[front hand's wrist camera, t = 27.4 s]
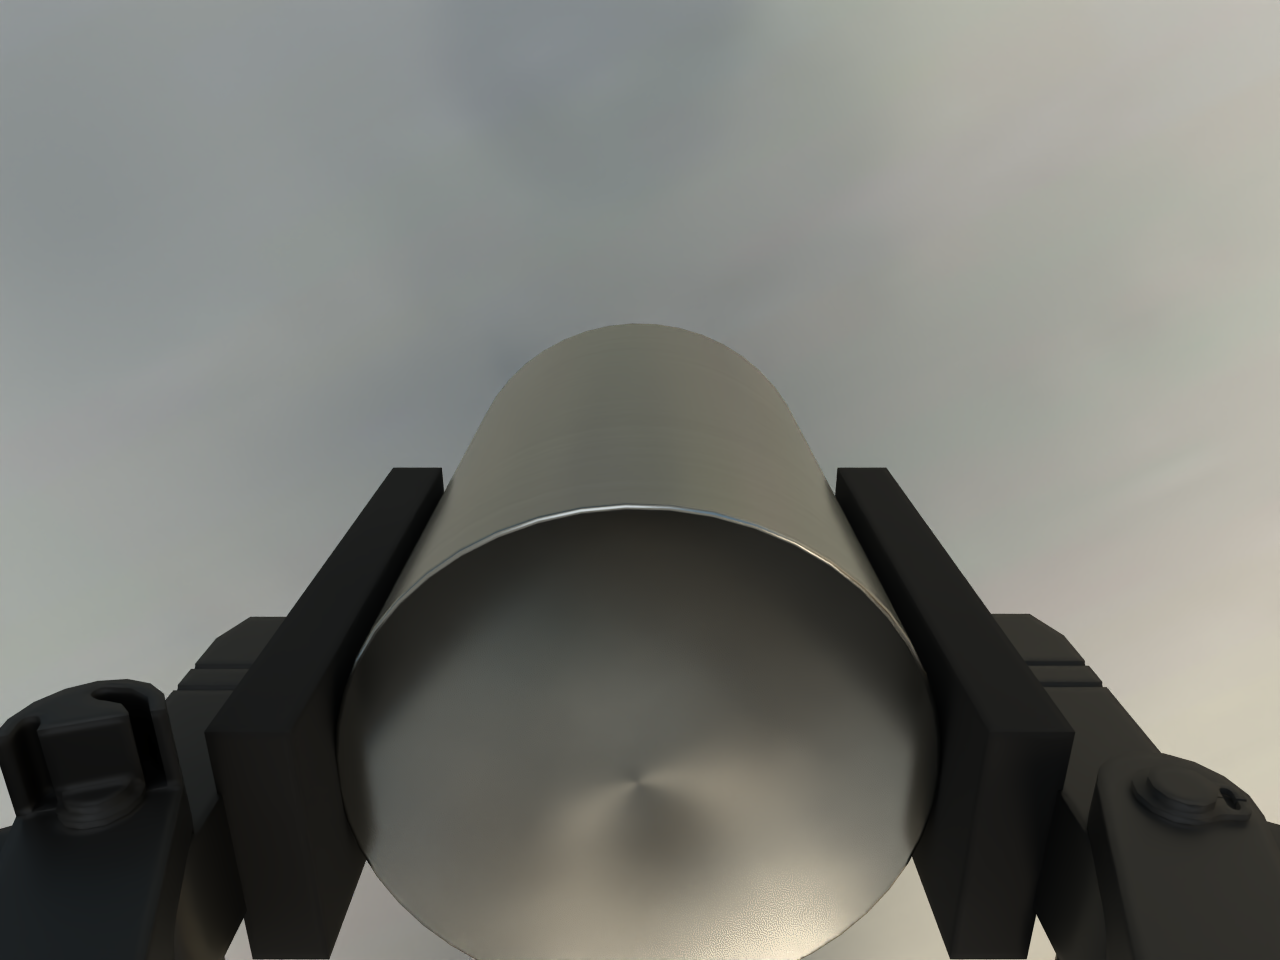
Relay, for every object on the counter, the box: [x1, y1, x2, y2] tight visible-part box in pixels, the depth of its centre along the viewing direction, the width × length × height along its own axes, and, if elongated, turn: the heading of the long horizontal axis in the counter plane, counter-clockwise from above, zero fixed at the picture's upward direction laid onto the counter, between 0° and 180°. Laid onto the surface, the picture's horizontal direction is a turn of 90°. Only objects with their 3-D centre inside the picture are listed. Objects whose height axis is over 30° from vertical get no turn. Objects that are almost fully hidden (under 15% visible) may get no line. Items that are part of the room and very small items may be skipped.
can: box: [335, 324, 941, 960], centre depth 13 cm, size 6×6×8 cm
